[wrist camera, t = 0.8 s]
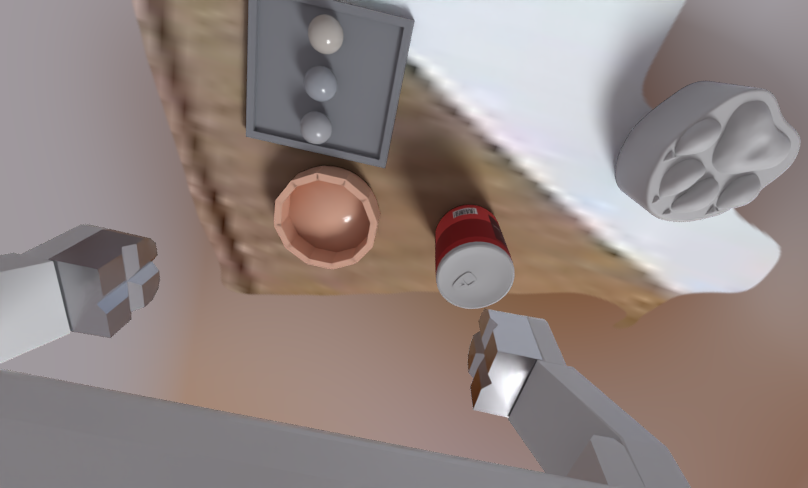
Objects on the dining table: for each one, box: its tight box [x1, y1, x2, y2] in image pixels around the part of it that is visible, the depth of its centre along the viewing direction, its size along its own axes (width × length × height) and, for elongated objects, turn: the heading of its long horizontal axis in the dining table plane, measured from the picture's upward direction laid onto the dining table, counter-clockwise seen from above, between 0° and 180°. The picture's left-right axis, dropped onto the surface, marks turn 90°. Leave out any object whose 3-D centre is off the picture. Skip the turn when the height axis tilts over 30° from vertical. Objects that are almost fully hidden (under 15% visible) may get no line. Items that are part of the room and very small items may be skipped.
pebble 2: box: [304, 66, 338, 102], centre depth 39 cm, size 3×3×3 cm
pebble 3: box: [300, 111, 332, 144], centre depth 41 cm, size 3×3×3 cm
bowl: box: [274, 165, 380, 269], centre depth 47 cm, size 12×12×4 cm
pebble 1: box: [308, 14, 344, 54], centre depth 37 cm, size 3×3×3 cm
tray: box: [246, 0, 414, 168], centre depth 41 cm, size 15×16×1 cm
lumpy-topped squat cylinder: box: [615, 81, 800, 222], centre depth 39 cm, size 10×13×9 cm
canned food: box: [435, 205, 514, 309], centre depth 44 cm, size 8×8×11 cm
